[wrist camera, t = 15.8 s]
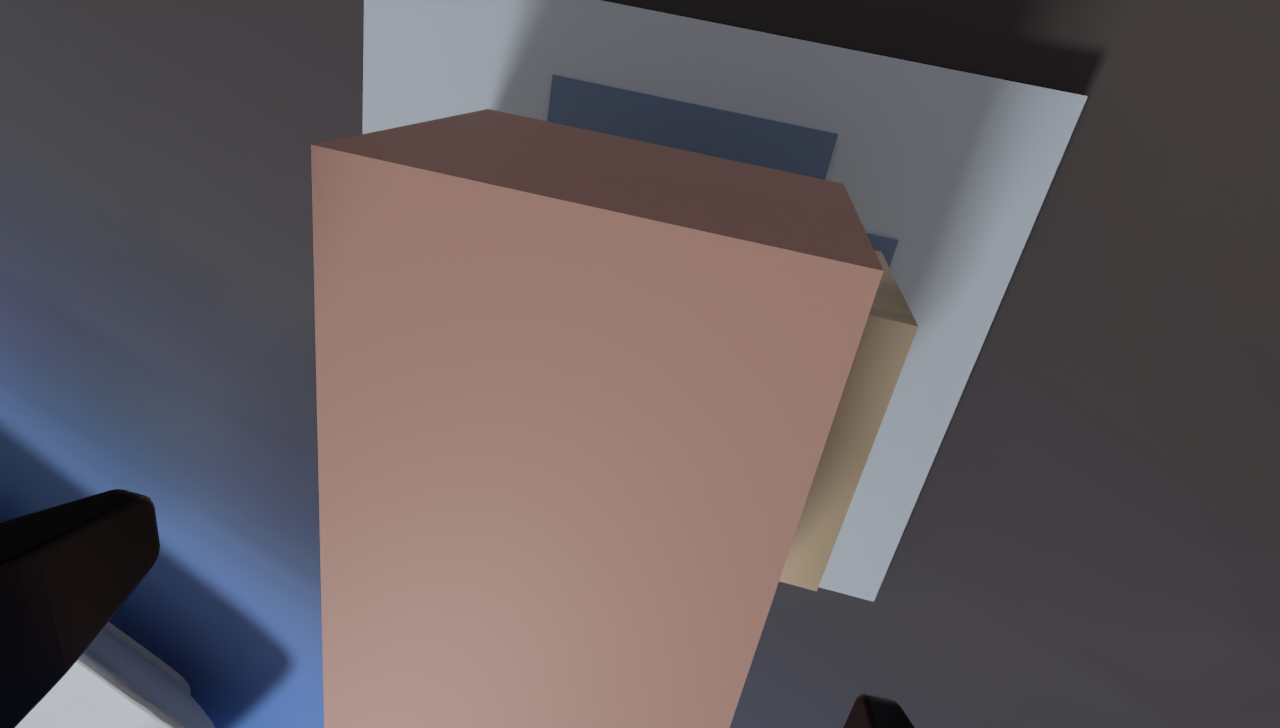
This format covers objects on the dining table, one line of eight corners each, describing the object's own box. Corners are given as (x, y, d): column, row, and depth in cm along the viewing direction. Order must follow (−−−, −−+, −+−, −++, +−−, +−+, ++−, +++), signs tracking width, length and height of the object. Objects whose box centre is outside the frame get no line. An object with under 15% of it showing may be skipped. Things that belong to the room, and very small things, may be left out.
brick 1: (487, 108, 12) (311, 144, 7) (843, 184, 11) (883, 271, 7) (451, 566, 16) (325, 764, 12) (710, 636, 16) (680, 873, 11)
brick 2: (881, 251, 17) (918, 326, 12) (808, 464, 19) (816, 591, 15) (475, 159, 18) (368, 196, 13) (457, 374, 20) (363, 468, 16)
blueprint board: (1073, 93, 15) (1089, 97, 15) (870, 582, 21) (874, 604, 21) (382, -43, 17) (361, -48, 16) (372, 451, 23) (357, 466, 22)
